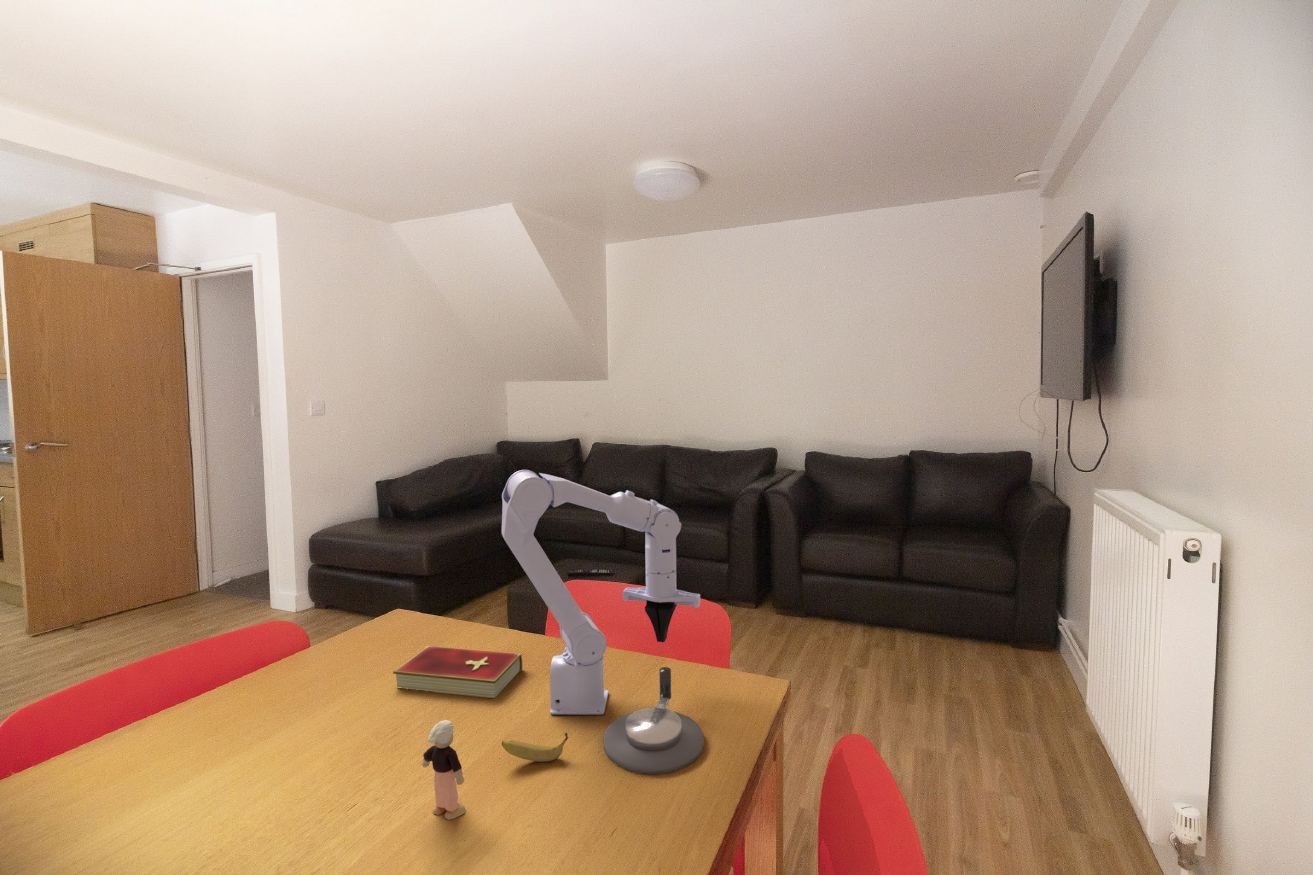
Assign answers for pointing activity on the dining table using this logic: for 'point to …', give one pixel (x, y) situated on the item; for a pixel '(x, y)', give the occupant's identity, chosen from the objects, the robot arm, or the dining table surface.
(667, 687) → the dial
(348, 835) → the dining table surface
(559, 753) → the banana
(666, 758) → the dial base
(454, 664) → the hardcover book
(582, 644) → the robot arm
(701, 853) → the dining table surface
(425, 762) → the grandmother figurine
